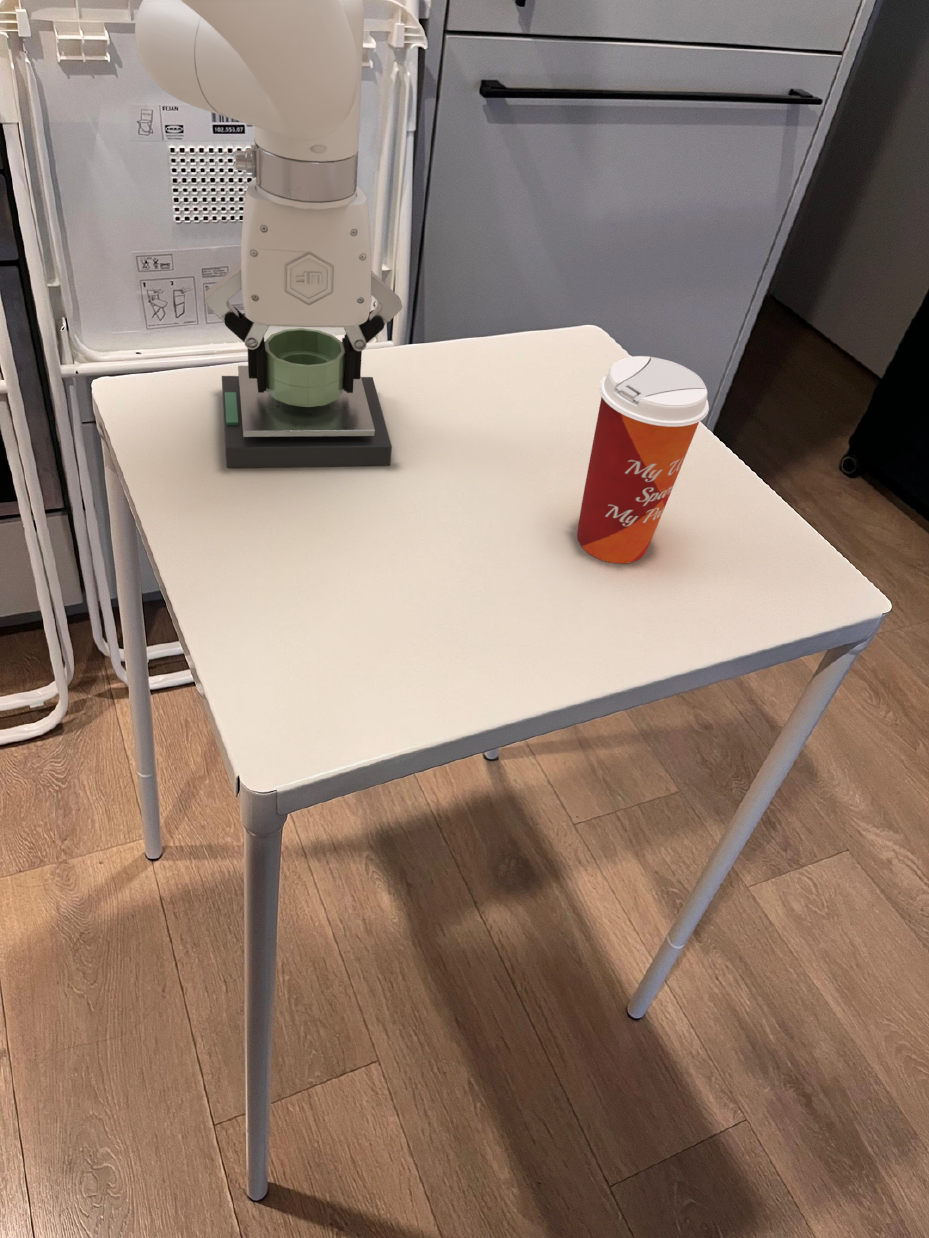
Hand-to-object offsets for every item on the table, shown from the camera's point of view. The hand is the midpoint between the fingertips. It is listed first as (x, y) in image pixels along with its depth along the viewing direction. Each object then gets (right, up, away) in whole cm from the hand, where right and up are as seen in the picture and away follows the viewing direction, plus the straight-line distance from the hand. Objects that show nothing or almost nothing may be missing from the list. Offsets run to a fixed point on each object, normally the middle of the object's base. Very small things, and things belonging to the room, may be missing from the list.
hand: (304, 383), depth 83 cm
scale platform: (0, -1, +1) cm, 2 cm away
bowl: (0, -1, 0) cm, 1 cm away
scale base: (-1, -3, +3) cm, 5 cm away
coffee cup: (+26, -14, -3) cm, 30 cm away
